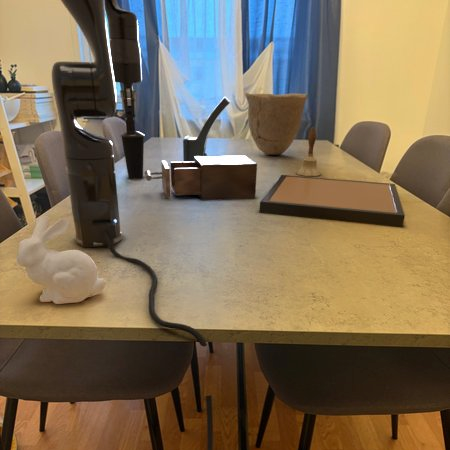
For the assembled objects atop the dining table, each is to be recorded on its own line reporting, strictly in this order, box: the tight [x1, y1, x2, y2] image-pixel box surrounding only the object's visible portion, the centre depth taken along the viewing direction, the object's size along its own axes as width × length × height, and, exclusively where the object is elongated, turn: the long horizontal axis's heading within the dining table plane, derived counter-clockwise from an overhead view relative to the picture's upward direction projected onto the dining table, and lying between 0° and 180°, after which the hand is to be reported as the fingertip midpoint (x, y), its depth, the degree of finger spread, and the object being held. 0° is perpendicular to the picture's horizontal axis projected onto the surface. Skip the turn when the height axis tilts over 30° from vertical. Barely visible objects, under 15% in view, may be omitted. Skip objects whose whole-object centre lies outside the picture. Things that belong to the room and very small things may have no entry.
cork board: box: [259, 174, 406, 228], centre depth 123 cm, size 35×3×35 cm
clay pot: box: [244, 92, 309, 156], centre depth 187 cm, size 27×28×25 cm
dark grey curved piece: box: [182, 96, 232, 162], centre depth 163 cm, size 11×17×24 cm, turn 87°
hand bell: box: [297, 126, 321, 177], centre depth 154 cm, size 8×8×16 cm
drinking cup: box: [120, 130, 145, 180], centre depth 141 cm, size 8×8×20 cm
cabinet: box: [194, 155, 258, 201], centre depth 127 cm, size 16×13×10 cm
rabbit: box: [16, 214, 106, 305], centre depth 67 cm, size 12×9×12 cm
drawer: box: [144, 160, 201, 199], centre depth 124 cm, size 20×12×8 cm, turn 103°
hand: (131, 134), depth 116 cm, fingers closed
